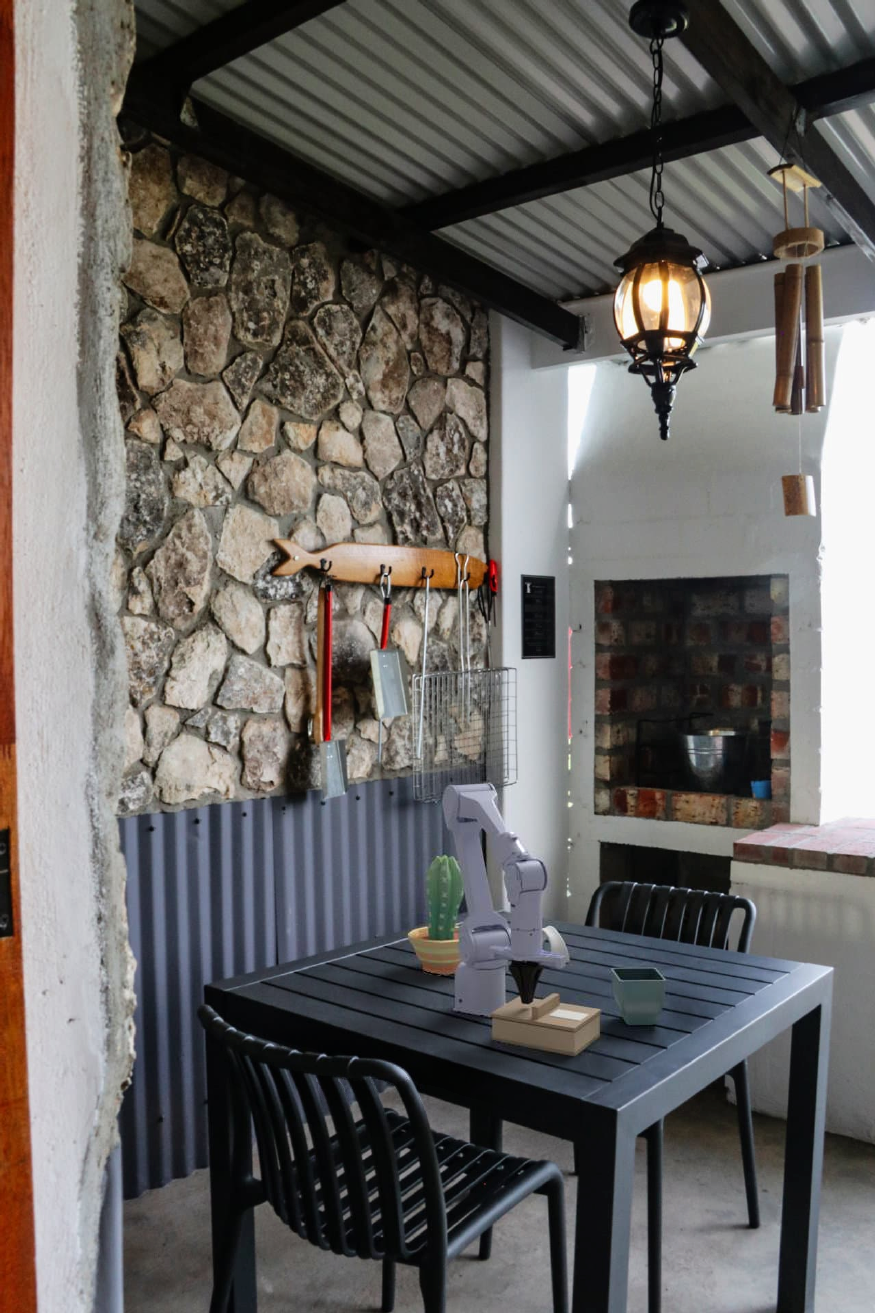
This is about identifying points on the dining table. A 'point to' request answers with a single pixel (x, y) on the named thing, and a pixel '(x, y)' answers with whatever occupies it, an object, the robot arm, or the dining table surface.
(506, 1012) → the mailer lid
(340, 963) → the dining table surface
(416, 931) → the potted cactus
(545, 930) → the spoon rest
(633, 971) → the flower pot
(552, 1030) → the box
